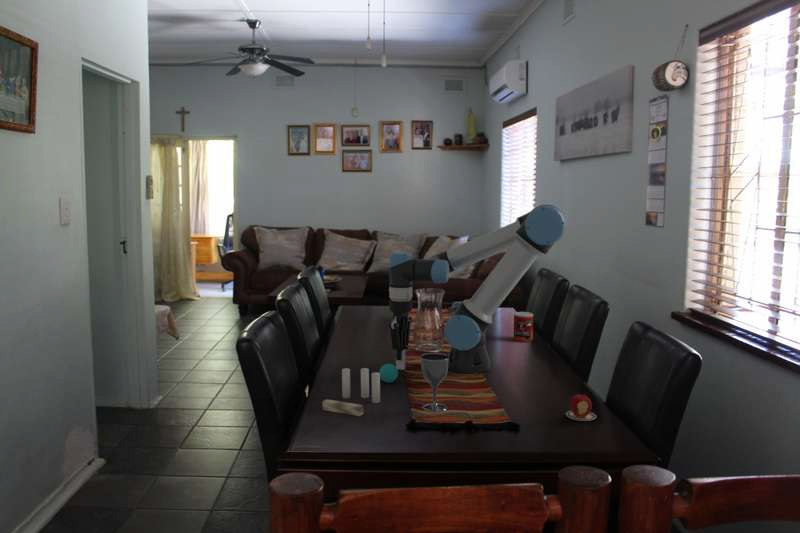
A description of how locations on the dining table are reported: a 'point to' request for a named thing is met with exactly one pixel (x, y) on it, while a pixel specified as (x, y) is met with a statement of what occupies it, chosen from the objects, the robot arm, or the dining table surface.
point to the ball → (388, 373)
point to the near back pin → (375, 387)
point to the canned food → (523, 326)
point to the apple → (581, 408)
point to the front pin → (364, 383)
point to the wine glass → (434, 376)
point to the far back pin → (346, 383)
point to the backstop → (343, 407)
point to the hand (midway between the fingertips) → (400, 368)
